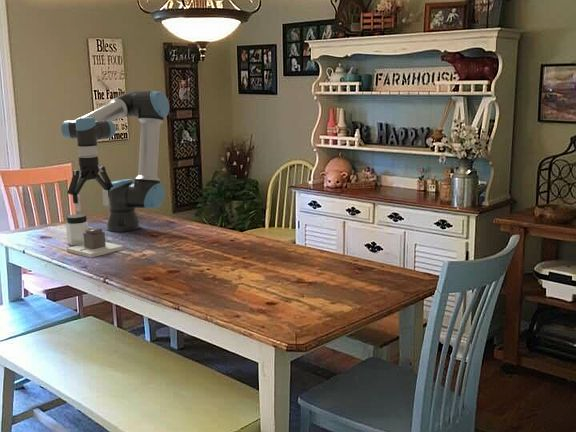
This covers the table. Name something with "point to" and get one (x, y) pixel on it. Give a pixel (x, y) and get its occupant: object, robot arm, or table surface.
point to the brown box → (94, 238)
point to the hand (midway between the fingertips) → (92, 208)
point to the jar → (76, 228)
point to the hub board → (94, 250)
